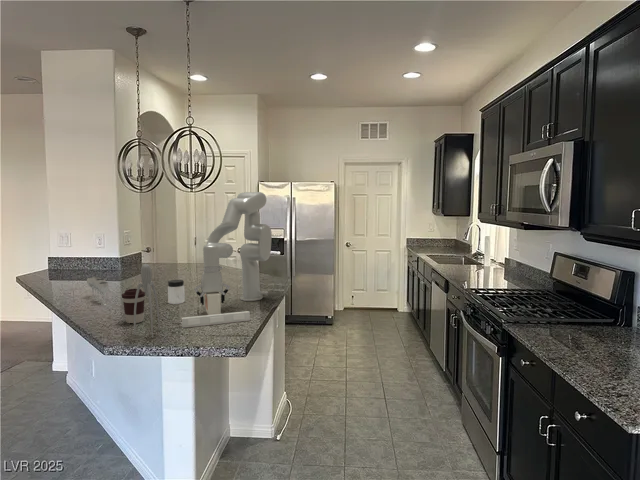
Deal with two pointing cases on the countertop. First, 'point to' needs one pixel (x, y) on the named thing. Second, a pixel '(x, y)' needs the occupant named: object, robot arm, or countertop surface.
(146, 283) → the juicer
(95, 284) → the goblet set
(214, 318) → the rail
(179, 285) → the jar
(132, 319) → the coffee cup
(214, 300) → the box
